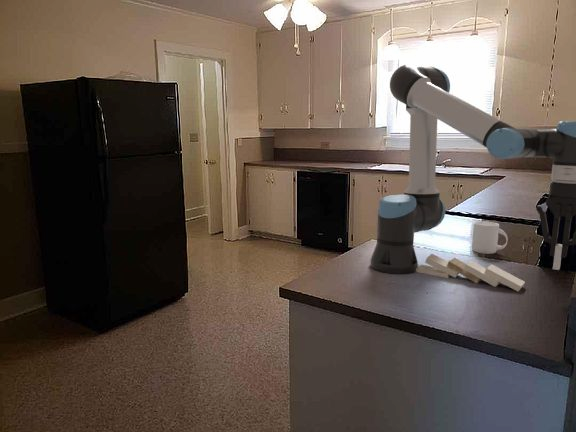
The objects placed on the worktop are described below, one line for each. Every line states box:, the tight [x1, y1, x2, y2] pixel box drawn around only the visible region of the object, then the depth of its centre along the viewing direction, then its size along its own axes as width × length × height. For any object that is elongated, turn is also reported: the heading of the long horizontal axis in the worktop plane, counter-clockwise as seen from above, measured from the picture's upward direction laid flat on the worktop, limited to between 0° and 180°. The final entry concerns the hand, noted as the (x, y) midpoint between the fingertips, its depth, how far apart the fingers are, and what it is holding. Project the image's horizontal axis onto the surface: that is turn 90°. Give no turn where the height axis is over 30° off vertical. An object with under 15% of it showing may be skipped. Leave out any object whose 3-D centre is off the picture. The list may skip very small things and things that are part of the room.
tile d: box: [484, 263, 526, 292], centre depth 126 cm, size 2×5×10 cm
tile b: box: [424, 253, 460, 278], centre depth 136 cm, size 2×5×10 cm
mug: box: [471, 220, 509, 255], centre depth 162 cm, size 9×12×11 cm
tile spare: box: [447, 257, 483, 284], centre depth 133 cm, size 2×5×10 cm
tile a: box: [415, 264, 452, 279], centre depth 138 cm, size 2×5×10 cm
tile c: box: [464, 260, 502, 288], centre depth 130 cm, size 2×5×10 cm
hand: (556, 268), depth 118 cm, fingers closed
